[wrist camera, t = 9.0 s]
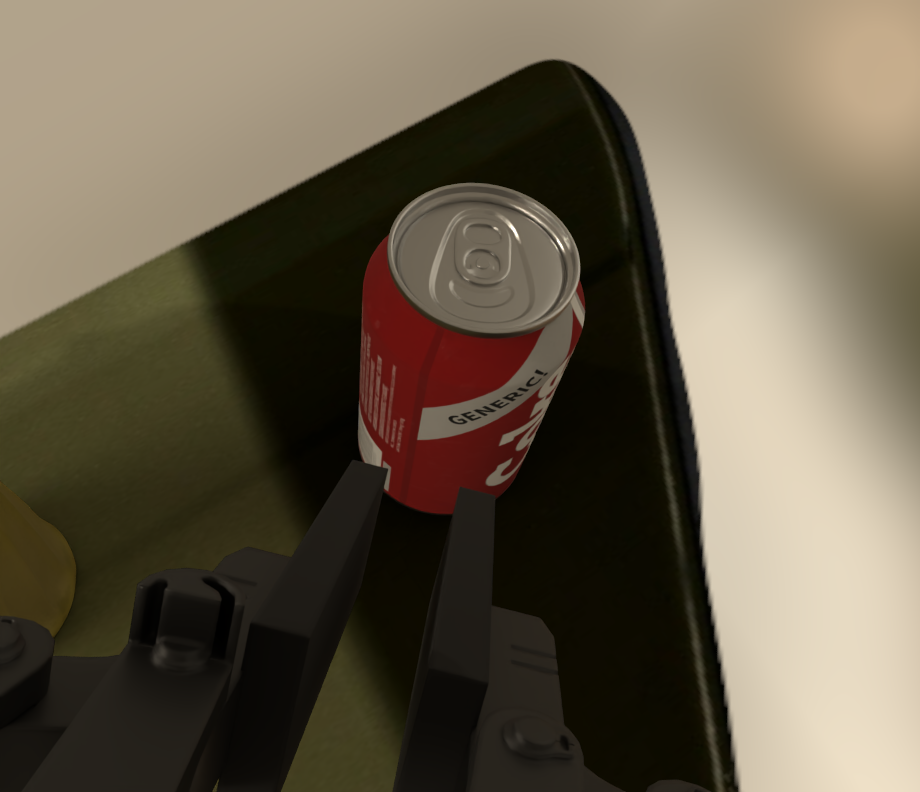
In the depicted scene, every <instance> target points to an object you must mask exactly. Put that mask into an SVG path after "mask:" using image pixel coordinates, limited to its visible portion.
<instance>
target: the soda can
mask: <svg viewBox="0 0 920 792" xmlns="http://www.w3.org/2000/svg"><path fill="white" fill-rule="evenodd" d="M579 276H580V259H579V254H578V250H577V247H576V245H575V242H574V240H573V238H572V236H571V234H570V233H569V231H568V230H567V228H566V227H565V226H564V224H563V223H562V222H561V221H560V220H559V219H558V217H557V216H556V215H554V214H553V213H552V212H551V211H550V210H549V209H547V208H546V207H545V206H543V205H542V204H540V203H539V202H537V201H536V200H534V199H532V198H530V197H528V196H526V195H524V194H522V193H520V192H517V191H514V190H511V189H508V188H505V187H501V186H496V185H490V184H482V183H462V184H453V185H448V186H444V187H440V188H437V189H434V190H432V191H429V192H427V193H425V194H423V195H421V196H419V197H418V198H416V199H415V200H413V201H412V202H411V203H410V204H408V205H407V206H406V207H405V208H404V209H403V210H402V212H401V213H400V214H399V215H398V217H397V218H396V220H395V222H394V224H393V226H392V228H391V231H390V234H389V235H388V236H387V237H386V238H385V239H384V240H383V241H382V242H381V243H380V245H379V246H378V247H377V249H376V250H375V252H374V253H373V255H372V257H371V259H370V261H369V263H368V266H367V269H366V272H365V277H364V283H363V304H362V333H361V362H360V391H359V420H358V445H359V451H360V455H361V459H362V461H363V462H364V463H368V464H372V465H376V466H380V467H384V468H388V473H387V477H386V481H385V485H384V490H383V492H384V493H385V494H386V495H388V496H389V497H390V498H392V499H393V500H395V501H396V502H398V503H399V504H401V505H403V506H405V507H407V508H410V509H412V510H415V511H418V512H421V513H426V514H431V515H444V516H448V515H453V511H454V507H455V503H456V499H457V495H458V491H459V487H463V488H467V489H471V490H475V491H479V492H483V493H487V494H491V495H495V499H497V498H498V497H499V496H501V495H502V494H503V493H504V492H505V491H506V490H507V488H508V487H509V486H510V485H511V483H512V482H513V480H514V479H515V477H516V475H517V473H518V471H519V469H520V467H521V465H522V462H523V460H524V458H525V456H526V454H527V451H528V449H529V447H530V445H531V443H532V440H533V438H534V436H535V434H536V432H537V429H538V427H539V425H540V423H541V421H542V418H543V416H544V414H545V412H546V410H547V408H548V405H549V403H550V401H551V399H552V397H553V394H554V392H555V390H556V388H557V386H558V383H559V381H560V379H561V377H562V375H563V372H564V370H565V368H566V366H567V364H568V361H569V359H570V357H571V355H572V353H573V351H574V348H575V346H576V344H577V342H578V339H579V337H580V334H581V331H582V327H583V323H584V316H585V301H584V294H583V290H582V286H581V283H580V280H579Z"/></svg>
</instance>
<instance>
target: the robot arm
mask: <svg viewBox="0 0 920 792" xmlns="http://www.w3.org/2000/svg"><path fill="white" fill-rule="evenodd" d="M387 473H388V468H384V467H380V466H376V465H372V464H368V463H364V462H360V461H356V460H352V462H351V463H350V465H349V466H348V468H347V470H346V471H345V473H344V474H343V476H342V478H341V479H340V481H339V482H338V484H337V486H336V487H335V489H334V490H333V492H332V494H331V495H330V497H329V498H328V500H327V501H326V503H325V505H324V506H323V508H322V509H321V511H320V513H319V514H318V516H317V517H316V519H315V521H314V522H313V524H312V525H311V527H310V529H309V530H308V532H307V533H306V535H305V536H304V538H303V540H302V541H301V543H300V544H299V546H298V548H297V549H296V551H295V552H294V554H293V556H292V557H287V556H283V555H279V554H275V553H271V552H267V551H263V550H259V549H255V548H251V547H246V548H243V549H241V550H239V551H237V552H235V553H232V554H230V555H228V556H226V557H224V559H223V560H222V561H221V562H220V563H219V565H218V566H217V567H216V568H215V570H214V571H213V572H211V571H208V570H201V569H191V568H181V569H169V570H164V571H161V572H158V573H155V574H152V575H149V576H148V577H146V578H145V579H144V580H142V581H141V582H140V583H138V584H137V590H136V597H135V603H134V609H133V616H132V622H131V628H130V635H129V641H128V644H127V645H126V647H125V648H124V649H123V651H122V652H121V654H120V655H115V656H109V657H70V656H53V651H54V644H55V640H54V638H53V637H52V635H51V633H50V632H49V630H48V629H47V628H45V627H43V626H41V625H40V624H38V623H36V622H35V621H32V620H27V619H23V618H19V617H14V616H0V792H212V790H213V788H214V786H215V784H216V782H217V780H218V779H219V782H218V787H217V792H281V789H282V787H283V784H284V782H285V779H286V777H287V774H288V771H289V769H290V766H291V764H292V761H293V759H294V756H295V754H296V751H297V748H298V746H299V743H300V741H301V738H302V736H303V733H304V731H305V728H306V725H307V723H308V720H309V718H310V715H311V713H312V710H313V708H314V705H315V702H316V700H317V697H318V695H319V692H320V690H321V687H322V684H323V682H324V679H325V677H326V674H327V672H328V669H329V667H330V664H331V661H332V659H333V656H334V654H335V651H336V649H337V646H338V644H339V641H340V638H341V636H342V633H343V631H344V628H345V626H346V623H347V621H348V618H349V615H350V613H351V610H352V608H353V605H354V603H355V600H356V598H357V595H358V592H359V590H360V587H361V584H362V580H363V575H364V571H365V567H366V562H367V558H368V554H369V550H370V545H371V541H372V537H373V533H374V528H375V524H376V520H377V515H378V511H379V507H380V503H381V498H382V494H383V490H384V485H385V481H386V477H387ZM494 521H495V495H491V494H487V493H483V492H479V491H475V490H471V489H467V488H463V487H459V491H458V495H457V499H456V503H455V507H454V511H453V515H452V518H451V522H450V526H449V530H448V534H447V538H446V542H445V545H444V549H443V553H442V557H441V561H440V565H439V569H438V573H437V576H436V580H435V584H434V588H433V592H432V596H431V600H430V604H429V609H428V614H427V619H426V624H425V629H424V634H423V639H422V644H421V650H420V655H419V660H418V665H417V670H416V675H415V680H414V685H413V690H412V695H411V701H410V706H409V711H408V716H407V721H406V726H405V731H404V736H403V741H402V746H401V752H400V757H399V762H398V767H397V772H396V777H395V782H394V787H393V792H625V791H623V790H621V789H619V788H617V787H615V786H613V785H611V784H609V783H608V782H606V781H604V780H603V779H601V778H599V777H598V776H596V775H595V774H594V773H593V772H591V771H590V770H589V769H588V768H586V767H585V766H584V761H583V754H582V750H581V747H580V744H579V742H578V740H577V739H576V738H575V736H574V735H573V734H572V733H571V731H570V730H569V729H568V728H567V727H565V726H564V719H563V711H562V702H561V693H560V685H559V676H558V675H557V673H558V668H557V659H556V650H555V642H554V636H553V635H552V634H551V632H550V631H549V629H548V628H547V627H546V625H545V624H544V622H543V621H542V620H541V618H539V617H535V616H531V615H527V614H523V613H519V612H515V611H511V610H507V609H503V608H499V607H495V606H492V578H493V550H494ZM646 792H711V791H708V790H706V789H705V788H702V787H700V786H699V785H695V784H692V783H688V782H684V781H681V780H660V781H658V782H656V783H654V784H652V785H650V786H649V787H648V788H647V791H646Z"/></svg>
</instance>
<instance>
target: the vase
mask: <svg viewBox="0 0 920 792" xmlns="http://www.w3.org/2000/svg"><path fill="white" fill-rule="evenodd" d="M75 585H76V563H75V559H74V556H73V553H72V551H71V549H70V547H69V545H68V543H67V541H66V539H65V538H64V536H63V535H62V534H61V533H60V532H59V530H58V529H57V528H55V527H54V526H53V525H51V524H50V523H48V522H47V521H45V520H43V519H41V518H40V517H39V516H38V515H37V514H36V513H35V512H34V511H33V510H32V509H31V508H30V507H29V506H28V505H27V504H26V503H25V502H24V501H23V500H22V499H21V498H19V497H18V496H17V495H16V494H15V493H14V492H12V491H11V490H10V489H9V488H8V487H7V486H5V485H4V484H3V483H2V482H1V481H0V616H14V617H19V618H23V619H27V620H32V621H35V622H36V623H38V624H40V625H41V626H43V627H45V628H47V629H48V630H49V632H50V633H51V635H52V637H53V638H54V636H55V635H56V634H57V633H58V631H59V629H60V628H61V626H62V625H63V623H64V621H65V620H66V618H67V615H68V613H69V611H70V608H71V605H72V602H73V598H74V593H75Z"/></svg>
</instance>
